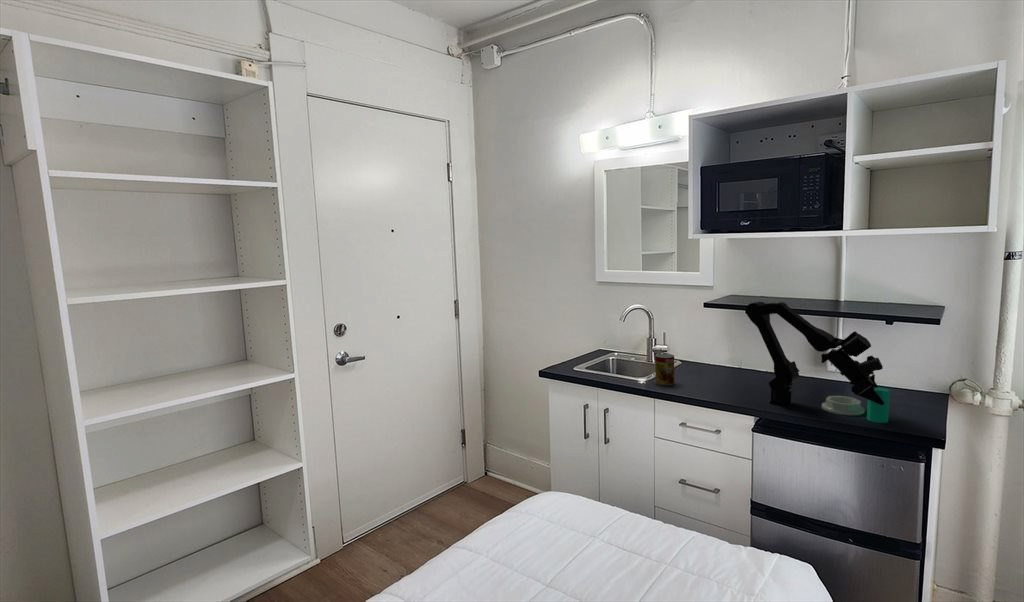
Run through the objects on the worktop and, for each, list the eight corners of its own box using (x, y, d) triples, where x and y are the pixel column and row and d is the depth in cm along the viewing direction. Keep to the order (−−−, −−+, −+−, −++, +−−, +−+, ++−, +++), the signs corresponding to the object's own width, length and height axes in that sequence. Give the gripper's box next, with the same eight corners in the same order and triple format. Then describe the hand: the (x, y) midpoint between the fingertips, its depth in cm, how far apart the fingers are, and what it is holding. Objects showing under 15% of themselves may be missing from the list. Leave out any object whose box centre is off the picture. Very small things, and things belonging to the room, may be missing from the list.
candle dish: (817, 410, 190) (817, 401, 190) (826, 401, 200) (827, 392, 199) (860, 418, 181) (861, 408, 181) (868, 408, 191) (868, 398, 191)
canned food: (671, 386, 227) (671, 358, 225) (652, 383, 231) (652, 356, 229) (676, 381, 233) (676, 354, 232) (658, 379, 237) (658, 352, 236)
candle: (891, 423, 176) (893, 387, 174) (870, 422, 177) (872, 386, 176) (884, 417, 182) (886, 382, 180) (864, 416, 183) (865, 381, 182)
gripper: (865, 354, 171) (906, 393, 166) (866, 344, 187) (904, 379, 182) (835, 376, 177) (874, 414, 172) (839, 364, 192) (875, 398, 187)
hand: (883, 400), depth 178 cm, fingers open, 9 cm apart
